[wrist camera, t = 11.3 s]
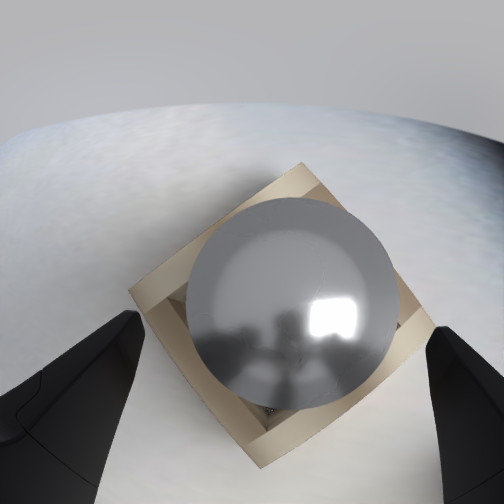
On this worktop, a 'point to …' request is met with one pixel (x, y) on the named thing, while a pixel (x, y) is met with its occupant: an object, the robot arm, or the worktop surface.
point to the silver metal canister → (292, 303)
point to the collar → (221, 398)
